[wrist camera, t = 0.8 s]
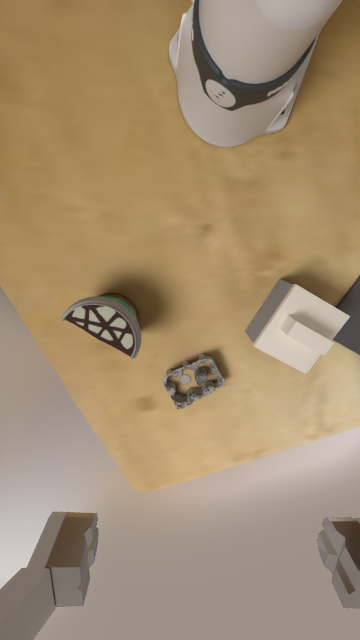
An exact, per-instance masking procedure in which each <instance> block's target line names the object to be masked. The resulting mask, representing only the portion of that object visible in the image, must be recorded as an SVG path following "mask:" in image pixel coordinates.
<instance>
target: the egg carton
mask: <svg viewBox="0 0 360 640" xmlns="http://www.w3.org/2000/svg"><path fill="white" fill-rule="evenodd" d="M198 356H199V359H198V361H196V362H193V363H189V362H188V361H185V362H183V363H182V364H183V367H182V368H179V369H177V370H175V371H174V370H173V369H172V368H170V369H168V370H167V375H166V376H165V377H164V378H163V379H161V381H162V382H163V384H164V386H165V388H166V389H167V391H168V392H169V394H170V396H171V398H172V400H173V402H174V404H175V405H176V407H177V409H181V408H184V407H186V406H188V405H190V404H192V403H193V401H195V400H199V399H200V398H201V397H204V396H206V395H208V394H211V393H212V392H213V391H215V390H216V389H217V388H219V387H220V386H223V385H225V381H224V379H223V377H222V375H221V372H220V370H219V369H218V368H217V367H216V364H215V362H214V359H213V357H212V356H206V355H205V354H203V353H202V354H199V355H198ZM207 360H208V361H210V362H211V363H210V367H211V371H212V374H213V375H215V376H218V380H217V381H216V382H212V381H210V380H207V378H208V376H207V371H206V369H205V368H204V367H200V362H202V363H205V362H206V361H207ZM186 367H187V369H189V368H190V369H191V370H194V369H195V372H194V373H195V380H196V382H197V384H198V385H200V384H202V383H203V384H202V387H201V388H200V389H197V388H195V387H191V388H189V389H188V390H187V395H185V396H182V395H180V394H175V392H176V386H175V383H173V382H172V381H168V382H167V378H168V376H171V375H173V376H175V377H177V376H180V375H181V376H180V378H179V381H180V383H182V384H188V383H189V382H190V380H191V378H190V376H189V375H187V374H183V369H186Z"/></svg>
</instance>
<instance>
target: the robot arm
mask: <svg viewBox="0 0 360 640" xmlns="http://www.w3.org/2000/svg"><path fill="white" fill-rule="evenodd" d="M342 1H343V0H191V2H192V3H193V4H192V6H191V7H190V9H189V11H188V12H187V13H184V14H183V16H182V20H181V26H180V28H179V29H178V31H177V32H176V34H175V35H174V37H173V38H172V40H171V42H170V44H169V50H168V54H169V59H170V62H171V64H172V67H173V69H174V71H175V74H176V77H177V84H178V97H179V103H180V107H181V110H182V113H183V115H184V117H185V119H186V121H187V123H188V125H189V126H190V127H191V129H192V130H193V131H194V132H195V133H196V134H197V135H198V136H199V137H200V138H202V139H203V140H205V141H206V142H208V143H210V144H213V145H216V146H221V147H233V146H238V145H241V144H244V143H246V142H248V141H250V140H252V139H253V138H255V137H257V136H259V135H262V134H272V133H277V132H279V131H281V130H282V129H283V128H284V126H285V125H286V123H287V120H288V117H289V115H290V112H291V109H292V107H293V104H294V101H295V99H296V96H297V93H298V91H299V88H300V85H301V83H302V80H303V77H304V74H305V72H306V69H307V66H308V64H309V61H310V58H311V56H312V53H313V50H314V48H315V45H316V42H317V40H318V37H319V34H320V32H321V29H322V28H323V27H324V25H325V24H326V23H327V21H328V20H329V19H330V17H331V16H332V14H333V13H334V12H335V10H336V9H337V8H338V6H339V5H340V3H341V2H342ZM282 111H283V115H280V114H281V112H282ZM97 521H98V517H97V513H74V512H52V514H51V515H50V517H49V518H48V521H47V523H46V525H45V527H44V530H43V532H42V534H41V537H40V539H39V541H38V543H37V546H36V548H35V550H34V552H33V555H32V557H31V559H30V561H29V564H28V566H27V568H21V569H20V570H19V572H17V573H16V574H15V575H14V576H13V577H12V578H11V579H10V580H9V581H8V582H7V583H6V584H5V585H4V586H3V587H2V588H1V589H0V640H33V639H34V638H35V636H36V635H37V634H38V632H39V631H40V630H41V628H42V627H43V625H44V624H45V623H46V621H47V620H48V618H49V617H50V616H51V614H52V613H53V612H54V610H55V607H62V606H83V605H84V601H85V596H86V593H87V589H88V585H89V581H90V575H89V568H90V567H91V566H92V564H93V563H94V560H95V555H96V551H97V544H98V529H97V527H96V525H97ZM322 525H323V527H324V530H322V531H321V532H320V533H319V536H318V539H317V541H318V550H319V553H320V556H321V559H322V561H323V563H324V565H325V567H326V568H327V569H328V570H329V571H330V572H331V573H332V574H333V576H332V583H333V586H334V588H335V590H336V592H337V594H338V597H339V599H340V601H341V603H342V605H343V607H344V608H360V518H352V517H326V518H325V519H323V522H322Z"/></svg>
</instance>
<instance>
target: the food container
mask: <svg viewBox="0 0 360 640" xmlns="http://www.w3.org/2000/svg"><path fill="white" fill-rule="evenodd" d="M61 319H62V320H61V321H63V320H65V319H66V320H67V321H69V322H71V323H73V324H75V325H77V326H78V327H80V328H82V329H83V330H85V331H86V332H88V333H89V334H91V335H92V336H94V337H96V338H97V339H99V340H101V341H103V342H105V343H107V344H109V345H111V346H113V347H115V348H117V349H118V350H120V351H122V352H124V353H125V354H127V355H129V356H130V357H131V359H134V358H135V357H136V355H137V353H138V351H139V348H140V345H141V331H140V327H139V318H138V312H137V310H136V308H135V306H134V304H133V303H132V302H131V301H130V300H129V299H128V298H126V297H124V296H123V295H120V294H115V293H107V294H103V295H100V296H98V297H88V298H84V299H81V300H79V301H77V302H75V303H74V304H73V305H71V306H70V307H69V308H68V309H67V310H66V311H65V313H64V314H63V316H62V318H61ZM131 359H130V361H131Z"/></svg>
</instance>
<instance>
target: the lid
mask: <svg viewBox="0 0 360 640" xmlns="http://www.w3.org/2000/svg"><path fill="white" fill-rule="evenodd" d="M349 318H350V316H349V315H347V314H345V313H344V312H342V311H340V310H339V309H337V308H335V307H334V306H332V305H330V304H329V303H327V302H325V301H323V300H322V299H320V298H318V297H317V296H315V295H313V294H312V293H310V292H308V291H307V290H305V289H303V288H301V287H300V286H298V285H296V284H294V285H293V286H292V288H291V289H290V290H289V292H288V293H287V295H286V296H285V298H284V299H283V301H282V302H281V304H280V305H279V307H278V308H277V310H276V311H275V312H274V314H273V315H272V317H271V318H270V320H269V321H268V323H267V324H266V326H265V327H264V329H263V330H262V332H261V333H260V334H259V336H258V337H257V339H256V340H255V342H254V343H253V346H254V347H255V348H257V349H259V350H261V351H263V352H265V353H267V354H269V355H271V356H273V357H274V358H276V359H278V360H280V361H282V362H284V363H286V364H288V365H290V366H292V367H294V368H295V369H297V370H299V371H301V372H303V373H305V374H306V373H307V372H308V370H309V369H310V368H311V367H312V365H313V364H314V363H315V361H316V360H317V359H318V358H319V356H320V355H321V354H322V355H324V356H325V354H326V353H327V352H328V350H329V349H330V348H331V347H332V345H333V344H334V342H333V341H332V339H333V338H334V337H335V336H336V334H337V333H338V332H339V330H340V329H341V328H342V327H343V325H344V324H345V323H346V321H347V320H348V319H349Z"/></svg>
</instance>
